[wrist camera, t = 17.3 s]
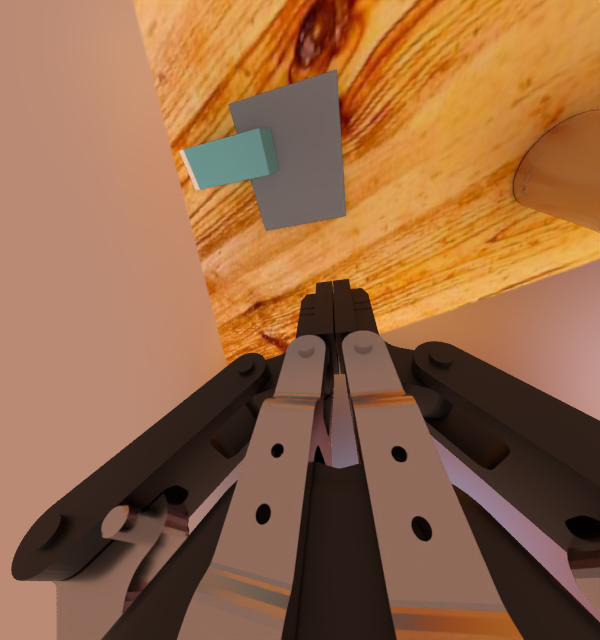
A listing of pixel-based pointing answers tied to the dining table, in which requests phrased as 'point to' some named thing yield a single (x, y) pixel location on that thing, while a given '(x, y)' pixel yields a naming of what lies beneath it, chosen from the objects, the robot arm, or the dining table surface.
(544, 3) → the dining table surface
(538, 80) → the dining table surface
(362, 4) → the dining table surface
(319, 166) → the mat
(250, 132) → the block
